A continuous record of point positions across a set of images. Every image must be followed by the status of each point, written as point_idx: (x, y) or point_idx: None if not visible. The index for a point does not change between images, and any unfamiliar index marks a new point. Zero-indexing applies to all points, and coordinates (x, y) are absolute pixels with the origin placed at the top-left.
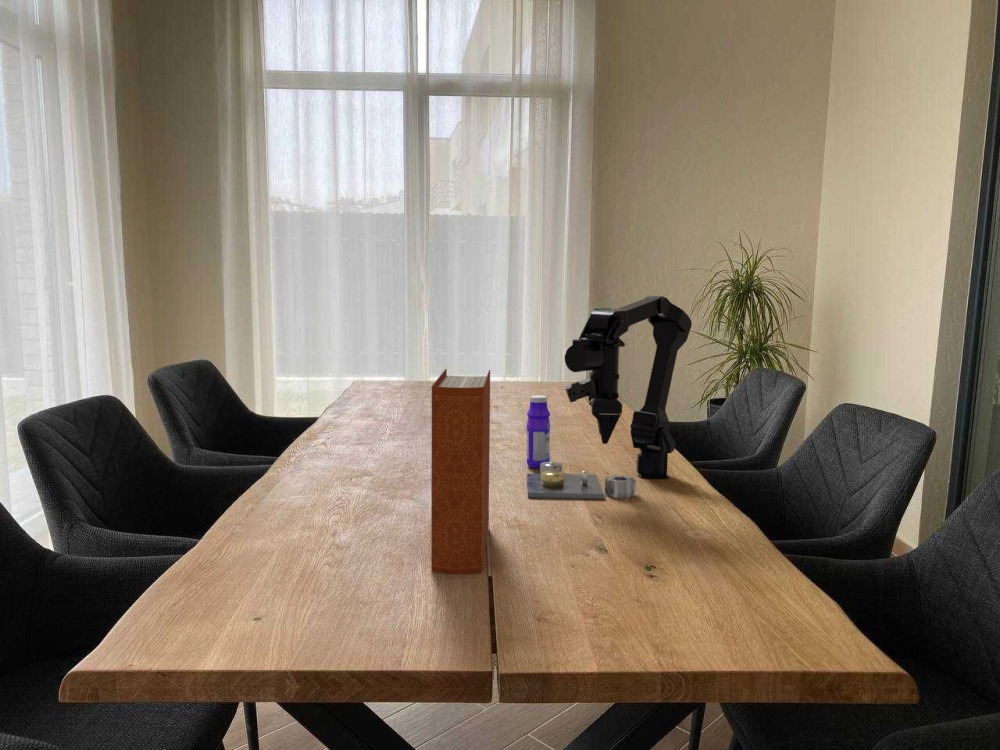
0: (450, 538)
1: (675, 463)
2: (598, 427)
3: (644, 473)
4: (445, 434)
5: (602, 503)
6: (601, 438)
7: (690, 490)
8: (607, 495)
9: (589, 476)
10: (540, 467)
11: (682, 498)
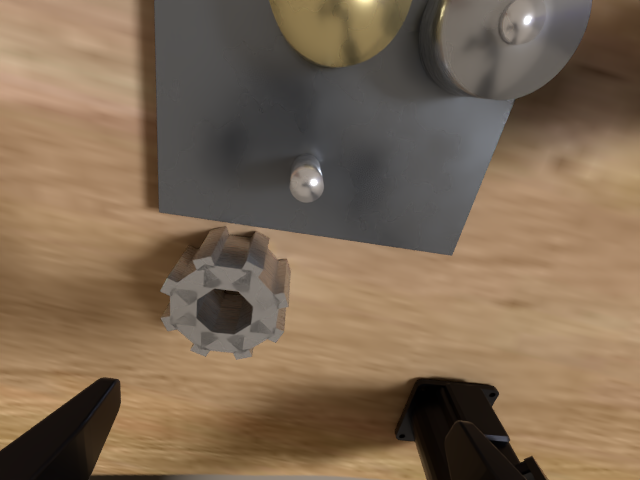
0: None
1: None
2: (492, 473)
3: (434, 397)
4: None
5: (111, 186)
6: (59, 410)
7: (274, 446)
8: (212, 230)
9: (433, 224)
10: None
11: (195, 415)
